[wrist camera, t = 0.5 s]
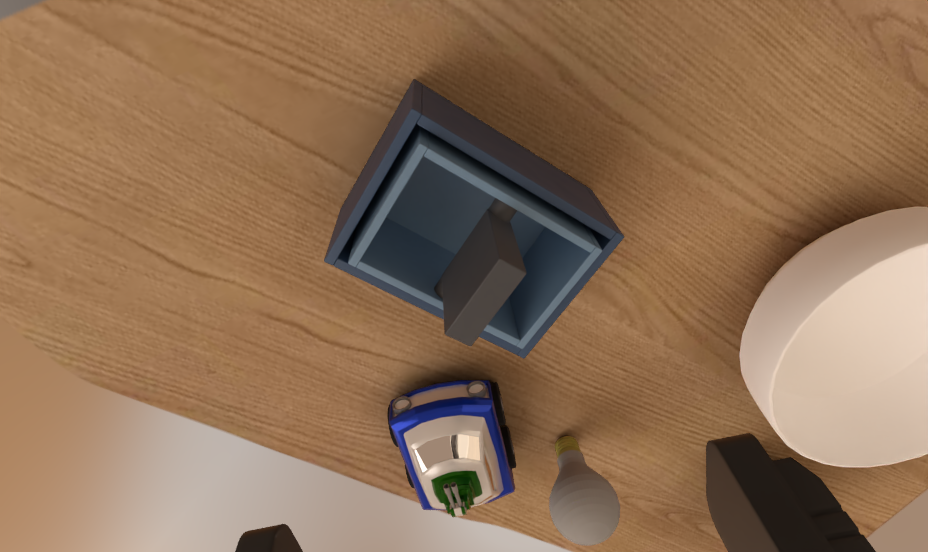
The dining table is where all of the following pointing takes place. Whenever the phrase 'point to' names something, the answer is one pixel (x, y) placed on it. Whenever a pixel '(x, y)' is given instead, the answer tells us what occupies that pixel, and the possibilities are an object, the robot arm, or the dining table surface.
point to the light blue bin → (470, 242)
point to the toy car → (454, 444)
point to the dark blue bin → (491, 152)
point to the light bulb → (581, 498)
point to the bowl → (847, 344)
